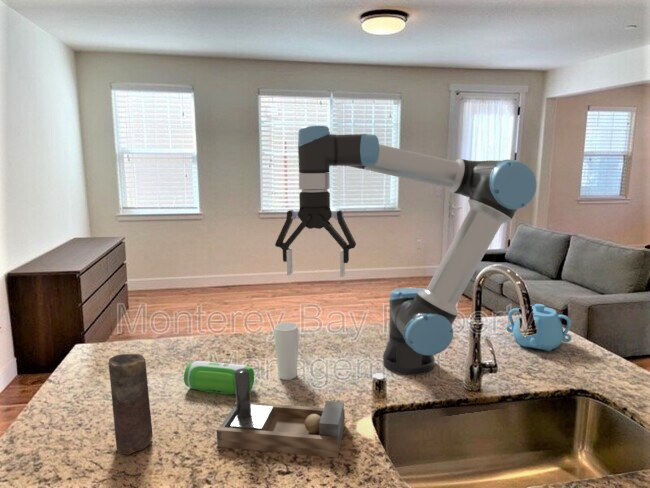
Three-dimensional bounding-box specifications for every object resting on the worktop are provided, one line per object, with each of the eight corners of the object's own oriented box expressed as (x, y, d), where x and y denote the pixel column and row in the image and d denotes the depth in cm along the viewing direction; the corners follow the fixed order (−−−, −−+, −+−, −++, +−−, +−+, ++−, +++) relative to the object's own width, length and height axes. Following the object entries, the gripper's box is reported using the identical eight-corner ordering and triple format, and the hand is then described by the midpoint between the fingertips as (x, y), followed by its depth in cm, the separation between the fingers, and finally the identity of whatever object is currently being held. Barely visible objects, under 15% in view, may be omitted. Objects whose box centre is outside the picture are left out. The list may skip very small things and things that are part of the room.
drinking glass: (296, 383, 126) (294, 331, 123) (272, 381, 127) (270, 329, 125) (302, 372, 132) (301, 322, 130) (279, 370, 134) (278, 321, 131)
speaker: (255, 387, 124) (254, 361, 123) (245, 400, 117) (243, 373, 116) (197, 380, 128) (195, 355, 127) (183, 393, 121) (181, 366, 120)
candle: (123, 435, 102) (115, 351, 99) (157, 433, 103) (150, 349, 99) (111, 457, 95) (101, 366, 91) (147, 454, 95) (139, 365, 92)
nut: (303, 416, 102) (314, 429, 102) (299, 426, 98) (311, 440, 98) (316, 407, 101) (328, 420, 101) (313, 416, 97) (325, 431, 98)
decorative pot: (576, 353, 143) (579, 311, 141) (527, 355, 142) (530, 313, 139) (546, 334, 159) (549, 296, 157) (501, 336, 158) (504, 298, 155)
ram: (273, 415, 106) (271, 364, 104) (262, 438, 98) (259, 382, 95) (244, 413, 107) (241, 362, 105) (230, 435, 99) (227, 380, 96)
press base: (344, 425, 105) (344, 399, 104) (337, 457, 94) (337, 428, 93) (237, 416, 110) (235, 391, 108) (217, 446, 98) (215, 418, 97)
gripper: (366, 189, 114) (366, 272, 117) (269, 190, 118) (272, 270, 122) (364, 191, 106) (363, 279, 110) (261, 191, 111) (264, 277, 114)
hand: (315, 274), depth 116 cm, fingers open, 13 cm apart
